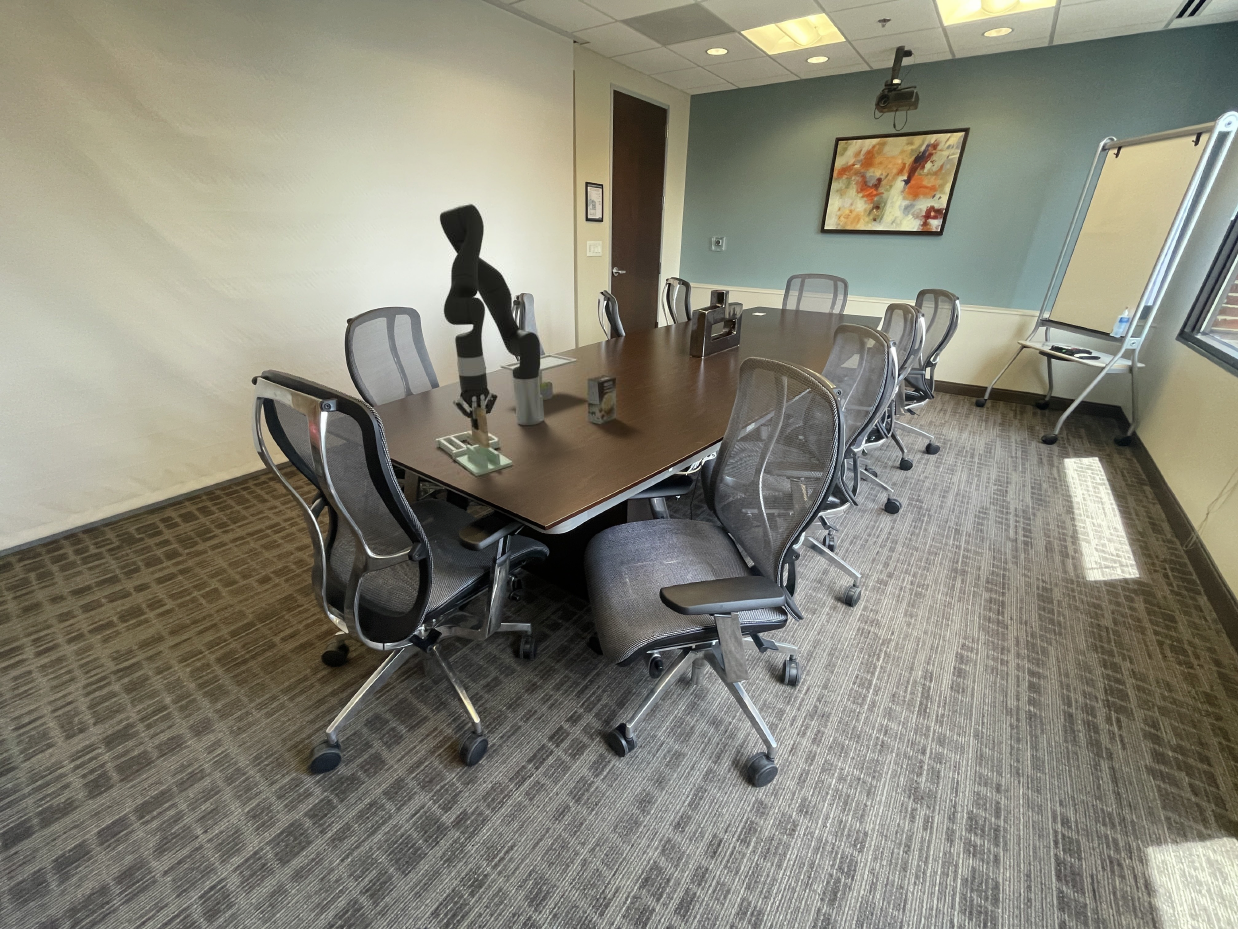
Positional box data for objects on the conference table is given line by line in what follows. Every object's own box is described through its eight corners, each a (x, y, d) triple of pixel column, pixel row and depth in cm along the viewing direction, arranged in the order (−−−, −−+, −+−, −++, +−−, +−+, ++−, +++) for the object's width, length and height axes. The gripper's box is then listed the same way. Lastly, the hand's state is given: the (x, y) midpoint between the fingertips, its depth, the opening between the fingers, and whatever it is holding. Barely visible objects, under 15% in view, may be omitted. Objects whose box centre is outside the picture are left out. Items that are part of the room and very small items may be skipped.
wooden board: (477, 440, 153) (473, 402, 148) (489, 448, 148) (485, 409, 143) (472, 441, 153) (468, 403, 147) (485, 449, 147) (480, 410, 142)
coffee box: (600, 424, 183) (599, 382, 176) (587, 421, 187) (586, 379, 180) (616, 418, 190) (616, 377, 183) (603, 414, 193) (603, 374, 186)
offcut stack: (480, 437, 171) (479, 428, 170) (493, 445, 165) (491, 435, 163) (467, 441, 168) (465, 431, 167) (479, 449, 162) (477, 439, 161)
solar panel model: (530, 409, 199) (527, 372, 193) (503, 400, 209) (499, 365, 203) (578, 393, 219) (577, 359, 212) (551, 386, 229) (549, 353, 222)
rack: (481, 434, 174) (480, 428, 173) (500, 446, 164) (500, 439, 163) (436, 446, 164) (435, 439, 163) (454, 459, 155) (453, 452, 154)
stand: (491, 450, 161) (489, 437, 159) (512, 464, 151) (511, 451, 150) (455, 460, 154) (453, 447, 152) (476, 476, 144) (474, 462, 143)
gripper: (488, 365, 147) (494, 420, 155) (443, 372, 139) (452, 430, 147) (500, 370, 142) (505, 427, 149) (454, 378, 134) (463, 437, 141)
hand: (479, 428), depth 148 cm, fingers closed on wooden board, 1 cm apart
